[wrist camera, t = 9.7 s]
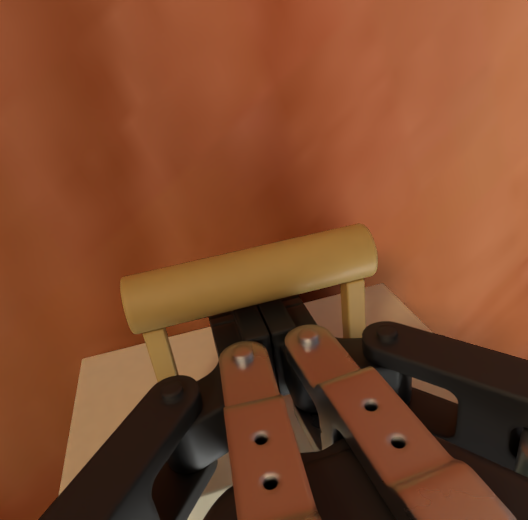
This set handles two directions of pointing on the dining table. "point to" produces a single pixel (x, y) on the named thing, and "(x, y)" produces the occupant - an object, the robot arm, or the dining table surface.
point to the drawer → (202, 342)
